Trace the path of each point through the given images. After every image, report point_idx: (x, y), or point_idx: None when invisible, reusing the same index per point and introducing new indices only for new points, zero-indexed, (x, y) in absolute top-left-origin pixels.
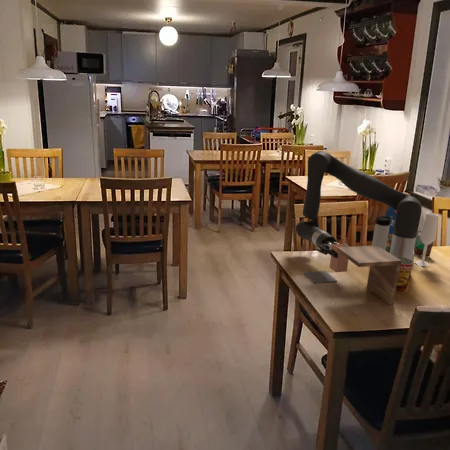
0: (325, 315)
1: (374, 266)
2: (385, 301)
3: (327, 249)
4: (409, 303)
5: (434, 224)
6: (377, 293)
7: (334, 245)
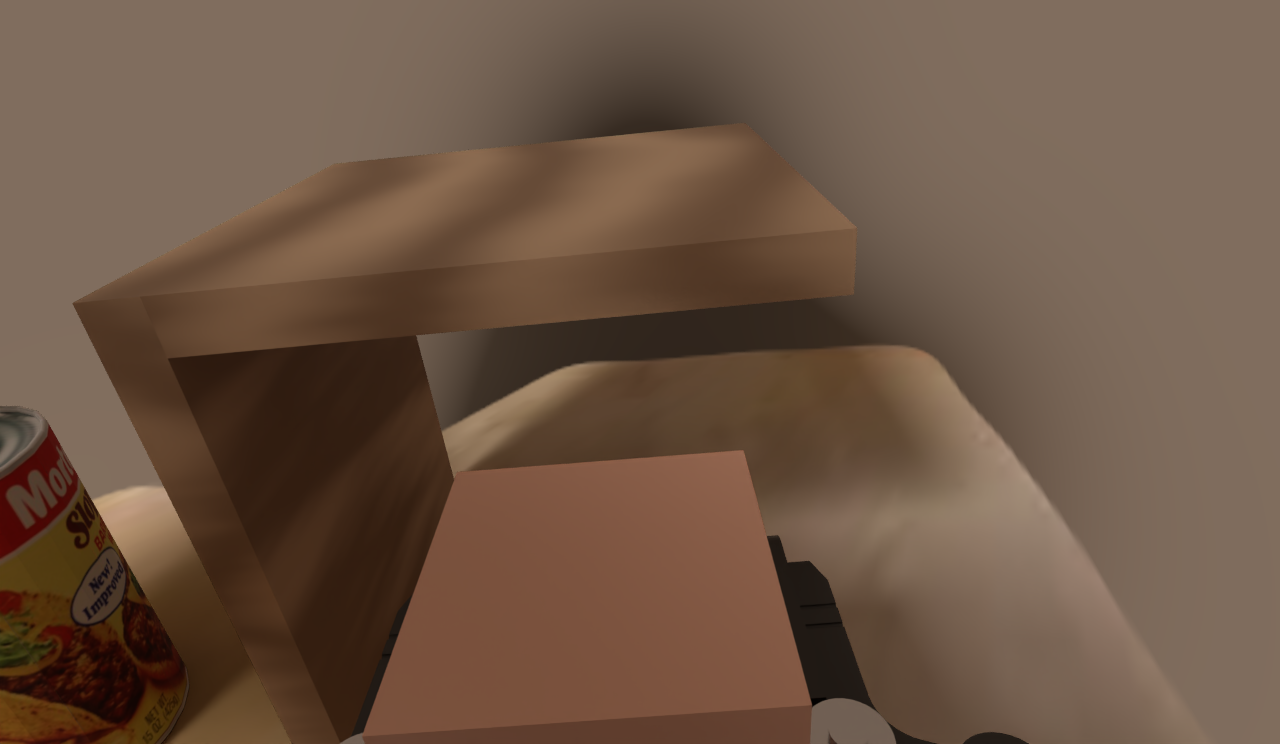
0: (961, 421)
1: (300, 498)
2: None
3: (973, 736)
4: None
5: None
6: None
7: (771, 610)
